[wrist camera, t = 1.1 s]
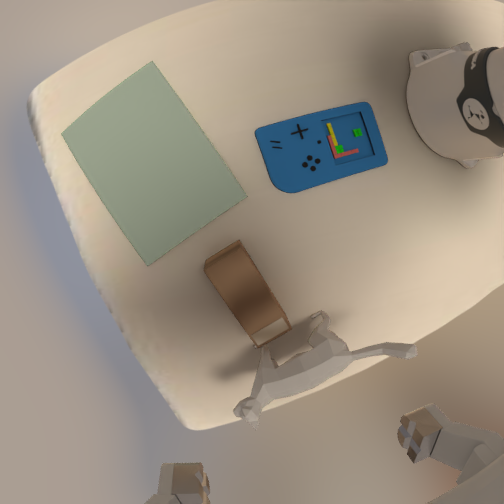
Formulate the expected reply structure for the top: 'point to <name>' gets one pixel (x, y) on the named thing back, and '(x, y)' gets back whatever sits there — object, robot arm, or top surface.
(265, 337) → the walnut block
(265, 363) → the cat figurine
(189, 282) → the top surface
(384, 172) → the top surface
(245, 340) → the top surface
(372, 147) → the handheld gaming device
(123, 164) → the rubber mat
